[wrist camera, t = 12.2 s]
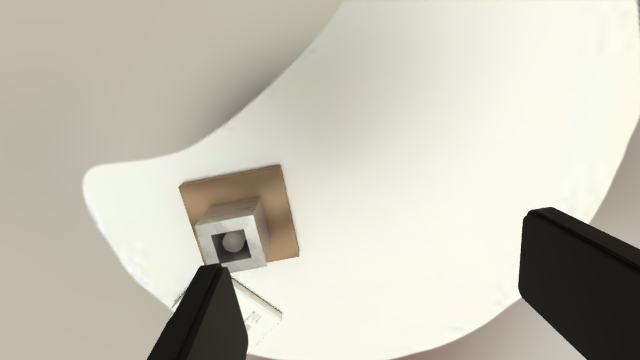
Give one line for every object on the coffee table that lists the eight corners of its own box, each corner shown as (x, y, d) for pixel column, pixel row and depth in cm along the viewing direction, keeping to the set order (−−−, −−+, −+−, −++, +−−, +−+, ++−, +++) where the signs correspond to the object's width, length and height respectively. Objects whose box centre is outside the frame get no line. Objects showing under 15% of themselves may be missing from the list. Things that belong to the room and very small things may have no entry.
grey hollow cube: (211, 204, 35) (194, 226, 30) (260, 195, 35) (253, 215, 30) (224, 248, 37) (211, 276, 31) (271, 239, 37) (266, 266, 31)
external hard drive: (211, 262, 39) (282, 312, 42) (174, 302, 41) (245, 348, 43) (208, 269, 38) (281, 321, 41) (169, 310, 39) (243, 357, 42)
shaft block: (183, 183, 36) (158, 201, 30) (280, 164, 36) (276, 179, 30) (210, 267, 39) (194, 300, 33) (299, 250, 40) (299, 279, 33)
